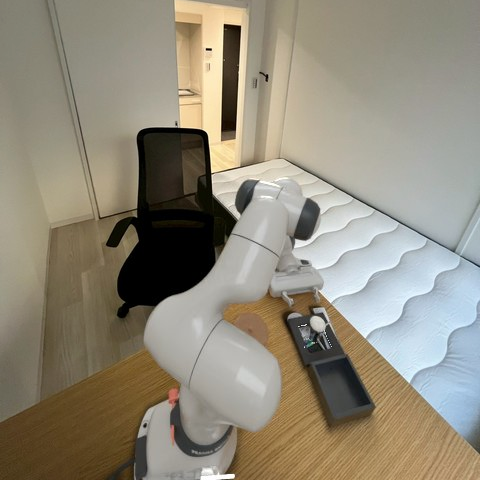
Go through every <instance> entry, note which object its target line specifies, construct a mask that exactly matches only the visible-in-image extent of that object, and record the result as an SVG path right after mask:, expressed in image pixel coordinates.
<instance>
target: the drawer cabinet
mask: <svg viewBox="0 0 480 480" xmlns="http://www.w3.org/2000/svg"><path fill="white" fill-rule="evenodd" d="M313 316H318V317H320V318H322V319H323V320H324V322H325V325H326V324H327V323H328V322H329V321H328V319H327V317H326V315H325V313H324V312H323V311H322V312H316V313H311V314H306V315H301V316H296V317H290V318H287V320H286V324H287V327H288V330H289V333H290V335H291V337H292V340H293V343H294V345H295V349H296V350H297V354H298V357H299V358H300V362H301V364H302V367H303V369H309V366H310V363H311V362H315V361H319V360H323V359H327V358H331V357H335V356H339V355H344V354H346V353H345V351H344V349H343V348H342V346H341V344H340V342H339V340H338V338H337V336H336V334H335V332H334V330H333V328H332V326H331V325H330V323H329V324H328V325H327V326H326V328H325V332H326V335H327V337H326V335H325V334H323V336H324V338H325V340H326V342H327V345H328V346H329V348H326V349H321V350H318V351H313V352H309V349H308V346H307V344H306V342H305V339H304V336H303V334H302V332H301V330H300V329H302V328H307V327H308V328H309V325H310V319H311V318H312V317H313ZM305 324H307V325H306V326H301V325H305ZM298 326H300V327H298ZM327 338H328V339H327ZM328 340H329V341H328ZM329 342H330V343H329ZM330 344H331V345H330ZM304 346H305V348H304ZM331 346H332V347H331Z"/></svg>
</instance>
